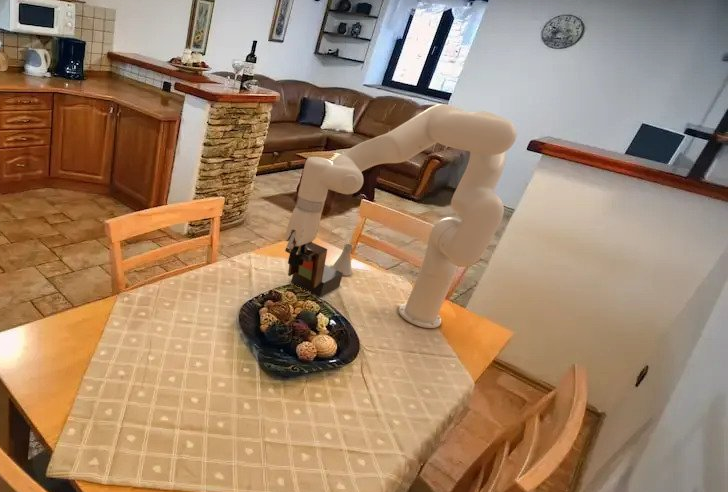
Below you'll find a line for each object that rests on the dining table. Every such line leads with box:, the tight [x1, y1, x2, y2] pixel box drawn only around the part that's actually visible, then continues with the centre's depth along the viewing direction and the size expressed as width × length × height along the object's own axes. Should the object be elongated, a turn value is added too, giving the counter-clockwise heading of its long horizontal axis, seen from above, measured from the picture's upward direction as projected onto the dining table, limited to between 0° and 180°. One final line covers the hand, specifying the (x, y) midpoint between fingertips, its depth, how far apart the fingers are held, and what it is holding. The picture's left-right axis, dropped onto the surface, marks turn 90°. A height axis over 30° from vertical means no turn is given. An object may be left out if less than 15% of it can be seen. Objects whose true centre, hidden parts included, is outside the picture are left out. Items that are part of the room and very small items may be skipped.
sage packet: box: [298, 265, 315, 280], centre depth 152 cm, size 3×5×2 cm
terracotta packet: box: [300, 258, 316, 271], centre depth 150 cm, size 3×5×2 cm
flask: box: [331, 242, 354, 276], centre depth 171 cm, size 7×7×10 cm
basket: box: [284, 241, 328, 288], centre depth 148 cm, size 12×10×9 cm
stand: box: [290, 264, 344, 298], centre depth 160 cm, size 12×11×5 cm
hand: (295, 264), depth 144 cm, fingers closed on basket
